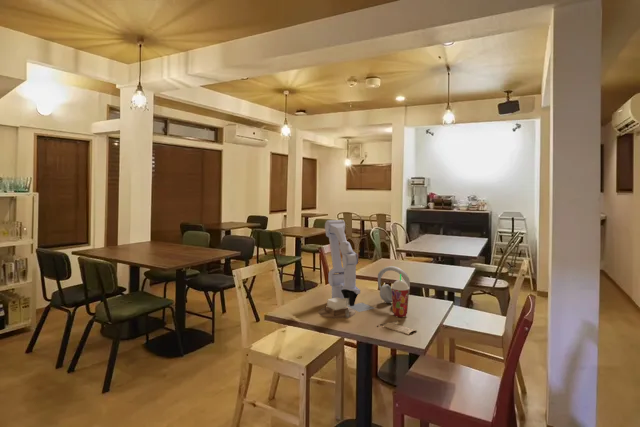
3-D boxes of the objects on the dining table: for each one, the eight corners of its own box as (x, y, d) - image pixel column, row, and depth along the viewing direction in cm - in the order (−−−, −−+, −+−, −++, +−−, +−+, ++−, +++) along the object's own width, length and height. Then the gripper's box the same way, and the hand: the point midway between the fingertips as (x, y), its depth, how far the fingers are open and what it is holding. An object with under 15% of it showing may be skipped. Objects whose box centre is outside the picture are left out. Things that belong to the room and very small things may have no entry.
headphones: (374, 302, 205) (374, 265, 204) (381, 299, 211) (382, 263, 210) (405, 309, 193) (405, 270, 192) (412, 305, 199) (413, 267, 198)
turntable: (311, 311, 189) (311, 303, 189) (341, 305, 199) (341, 297, 198) (331, 322, 174) (331, 314, 173) (363, 315, 183) (363, 307, 183)
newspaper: (365, 322, 178) (365, 318, 178) (375, 318, 183) (375, 314, 183) (408, 336, 161) (408, 332, 160) (418, 332, 165) (418, 328, 165)
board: (357, 302, 205) (357, 300, 205) (382, 312, 188) (382, 310, 188) (308, 312, 190) (308, 309, 190) (330, 324, 173) (330, 322, 173)
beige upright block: (335, 315, 182) (335, 302, 181) (327, 311, 187) (327, 299, 187) (354, 310, 189) (354, 298, 188) (346, 307, 194) (346, 295, 193)
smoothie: (409, 313, 187) (410, 273, 186) (407, 319, 180) (408, 276, 178) (392, 311, 190) (393, 271, 189) (389, 317, 182) (390, 275, 181)
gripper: (334, 275, 193) (334, 302, 194) (352, 281, 181) (351, 310, 182) (346, 274, 197) (346, 300, 198) (363, 280, 184) (363, 307, 185)
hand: (349, 304), depth 190 cm, fingers open, 3 cm apart
